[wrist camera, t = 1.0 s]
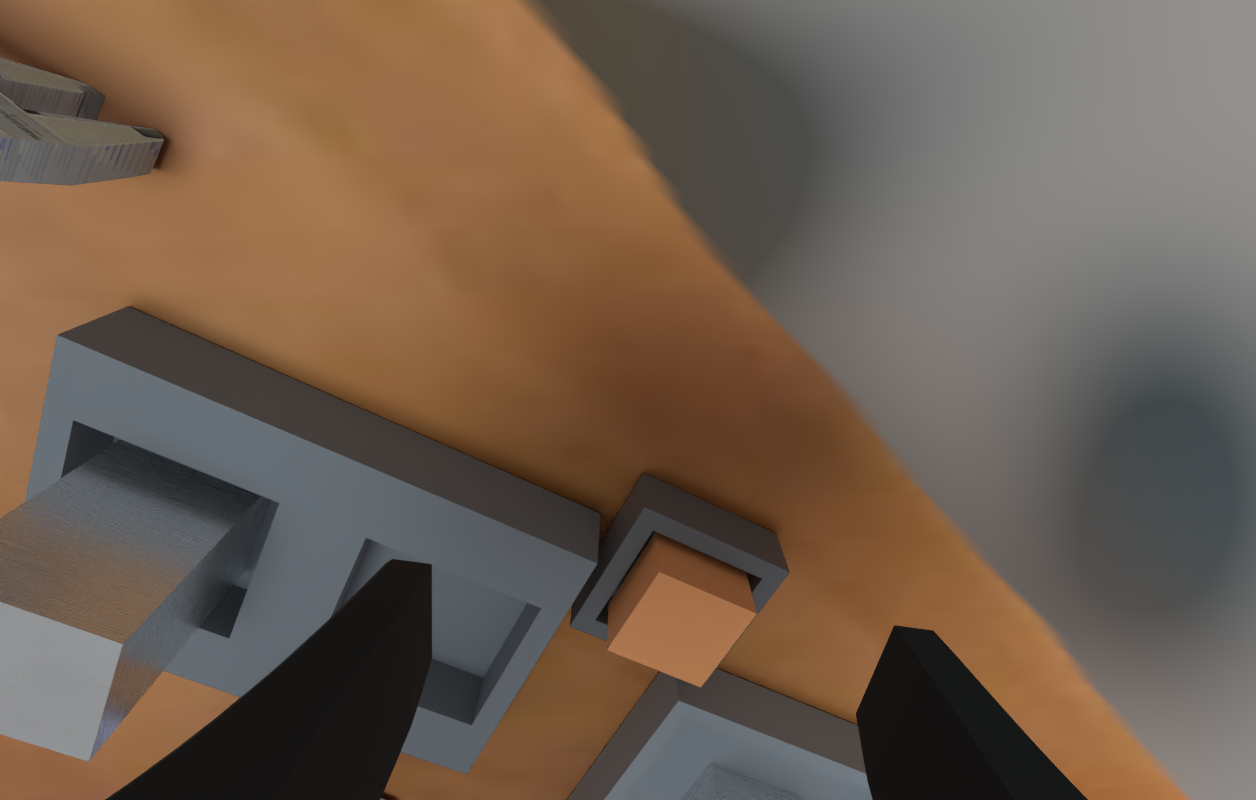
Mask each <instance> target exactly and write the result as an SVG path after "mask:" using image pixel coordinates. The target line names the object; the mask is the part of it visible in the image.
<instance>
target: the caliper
mask: <svg viewBox="0 0 1256 800" xmlns="http://www.w3.org/2000/svg"><path fill="white" fill-rule="evenodd" d="M104 98H105V96H104V95H103V94H101V93H100V92H98V91H97V90H95V89H93V88H92V87H90V86H89V85H87V84H86V83H83V82H81V81H77V80H74V79H71V78H68V77H64V76H61V75H58V74H54V73H51V72H48V71H45V70H41V69H38V68H35V67H32V66H28V65H25V64H22V63H19V62H15V61H12V60H9V59H5V58H2V57H0V181H8V182H23V183H39V184H55V185H78V184H85V183H93V182H100V181H107V180H115V179H122V178H129V177H135V176H141V175H146V174H150V173H151V171H152V169H153V166H154V164H155V162H156V159H157V157H158V154H159V152H160V150H161V147H162V145H163V143H164V139H163V137H162V135H161V134H160V133H159V132H158V131H157V130H156V129H153V128H145V127H137V126H130V125H123V124H116V123H110V122H103V121H97V117H98V114H99V112H100V109H101V106H102V104H103V101H104Z"/></svg>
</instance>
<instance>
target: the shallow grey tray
mask: <svg viewBox="0 0 1256 800" xmlns="http://www.w3.org/2000/svg"><path fill="white" fill-rule="evenodd" d="M711 762H712V763H714V764H717V765H720V766H722V767H725V768H728V769H730V770H733V771H736V772H738V773H741V774H744V775H746V776H749V777H752V778H754V779H757V780H760V781H762V782H765V783H768V784H770V785H773V786H776V787H778V788H781V789H784V790H786V791H789V792H792V793H794V794H797V795H800V799H801V800H873V799H872V796H871V792H870V789H869V785H868V781H867V775H866V770H865V765H864V759H863V754H862V748H861V742H860V736H859V729H858V725H855V724H853V723H850V722H848V721H845V720H843V719H840V718H838V717H835V716H833V715H830V714H828V713H825V712H823V711H821V710H818V709H816V708H813V707H811V706H808V705H806V704H803V703H801V702H798V701H796V700H793V699H791V698H788V697H786V696H784V695H781V694H779V693H776V692H774V691H771V690H769V689H766V688H764V687H761V686H759V685H756V684H754V683H751V682H749V681H747V680H744V679H742V678H739V677H737V676H734V675H732V674H729V673H727V672H724V671H722V670H719V669H717V668H716V669H715V671H714V672H713V673H712V674H711V676H710V677H709V678H708V680H707V681H705V683H704V684H703V685H702V687H698V686H696V685H693V684H691V683H688V682H686V681H683V680H681V679H678V678H676V677H673V676H671V675H668V674H666V673H663V672H661V671H660V672H659V673H658V675H657V676H656V677H655V679H654V680H653V681H652V683H651V684H650V686H649V687H648V688H647V690H646V691H645V693H644V694H643V695H642V697H641V698H640V700H639V701H638V702H637V704H636V705H635V706H634V708H633V709H632V711H631V712H630V713H629V715H628V716H627V718H626V719H625V720H624V722H623V723H622V724H621V726H620V727H619V729H618V730H617V731H616V733H615V734H614V736H613V737H612V738H611V740H610V741H609V742H608V744H607V745H606V747H605V748H604V749H603V751H602V752H601V754H600V755H599V756H598V758H597V759H596V761H595V762H594V763H593V765H592V766H591V767H590V769H589V770H588V772H587V773H586V774H585V776H584V777H583V779H582V780H581V781H580V783H579V784H578V785H577V787H576V788H575V790H574V791H573V792H572V794H571V795H570V797H569V798H568V799H567V800H681V798H682V797H683V796H684V795H685V794H686V792H687V791H688V790H689V789H690V787H691V786H692V785H693V784H694V783H695V781H696V780H697V779H698V778H699V776H700V775H701V774H702V773H703V772H704V770H705V769H706V768H707V767H708V766H709V764H710V763H711Z"/></svg>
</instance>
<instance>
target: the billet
mask: <svg viewBox="0 0 1256 800" xmlns="http://www.w3.org/2000/svg"><path fill="white" fill-rule="evenodd" d="M270 501H271V499H268V498H266V497H263V496H261V495H258V494H256V493H253V492H251V491H248V490H246V489H243V488H241V487H238V486H236V485H233V484H231V483H228V482H226V481H223V480H221V479H218V478H216V477H213V476H211V475H208V474H206V473H203V472H201V471H198V470H196V469H193V468H191V467H189V466H186V465H184V464H181V463H179V462H176V461H174V460H171V459H169V458H166V457H164V456H161V455H159V454H156V453H154V452H151V451H149V450H146V449H144V448H141V447H139V446H136V445H134V444H131V443H129V442H126V441H124V440H121V439H120V440H118V441H117V442H115V443H114V444H112V445H111V446H109V447H108V448H106V449H105V450H103V451H102V452H100V453H99V454H97V455H96V456H94V457H93V458H91V459H90V460H88V461H87V462H85V463H83V464H82V465H80V466H79V467H77V468H76V469H74V470H73V471H71V472H70V473H68V474H67V475H65V476H64V477H62V478H61V479H59V480H58V481H56V482H55V483H53V484H52V485H50V486H49V487H47V488H46V489H44V490H43V491H41V492H40V493H38V494H37V495H35V496H33V497H32V498H30V499H29V500H27V501H26V502H24V503H23V504H21V505H20V506H18V507H17V508H15V509H14V510H12V511H11V512H9V513H8V514H6V515H5V516H3V517H2V518H0V734H2V735H5V736H8V737H11V738H15V739H18V740H21V741H24V742H27V743H31V744H34V745H37V746H40V747H43V748H47V749H50V750H53V751H56V752H60V753H63V754H66V755H69V756H72V757H76V758H79V759H82V760H85V761H88V762H89V761H90V760H91V758H92V757H93V756H94V755H95V753H96V752H97V751H98V750H99V749H100V747H101V746H102V745H103V744H104V742H105V741H106V740H107V739H108V738H109V736H110V735H111V734H112V733H113V731H114V730H115V729H116V728H117V727H118V725H119V724H120V723H121V722H122V720H123V719H124V718H125V717H126V716H127V714H128V713H129V712H130V711H131V709H132V708H133V707H134V706H135V705H136V703H137V702H138V701H139V700H140V698H141V697H142V696H143V695H144V694H145V692H146V691H147V690H148V689H149V687H150V686H151V685H152V684H153V683H154V681H155V680H156V679H157V678H158V676H159V675H160V674H161V673H162V672H163V670H164V669H165V668H166V667H167V665H168V664H169V663H170V662H171V661H172V659H173V658H174V657H175V656H176V654H177V653H178V652H179V651H180V650H181V648H182V647H183V646H184V645H185V643H186V642H187V641H188V640H189V639H190V637H191V636H192V635H193V634H194V632H195V631H196V630H197V629H198V628H199V626H200V625H201V624H202V623H203V621H204V620H205V619H206V618H207V617H208V615H209V614H210V613H211V612H212V611H213V609H214V608H215V607H216V606H217V604H218V603H219V602H220V601H221V600H222V598H223V597H224V596H225V595H226V593H227V592H228V591H229V590H230V589H231V587H232V586H233V585H234V584H235V582H236V581H237V580H238V579H239V578H240V576H241V575H242V574H243V573H244V571H245V570H246V567H247V564H248V562H249V559H250V556H251V553H252V551H253V548H254V545H255V542H256V540H257V537H258V534H259V531H260V529H261V526H262V523H263V520H264V518H265V515H266V512H267V509H268V507H269V504H270Z"/></svg>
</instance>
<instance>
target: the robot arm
mask: <svg viewBox="0 0 1256 800" xmlns="http://www.w3.org/2000/svg"><path fill="white" fill-rule="evenodd" d="M431 661H432V564H428V563H420V562H413V561H405V560H398V559H391V560H390V561H388V562H387V563H385V564H384V565H383V566H382V567H381V568H380V569H379V570H378V571H377V572H376V573H375V574H374V575H373V576H372V577H371V578H370V579H369V580H368V581H367V582H366V583H365V584H364V585H363V586H362V587H361V588H360V589H359V590H358V591H357V592H356V593H355V594H354V595H353V596H352V597H351V598H350V599H349V600H348V601H347V602H346V603H345V604H344V605H343V606H342V607H341V608H340V609H339V610H338V611H337V612H336V613H335V614H334V615H333V616H332V617H331V618H330V619H329V620H328V621H327V622H326V623H324V624H323V625H322V626H321V627H320V628H319V629H318V630H317V631H316V632H315V633H314V634H313V635H311V636H310V637H309V638H308V639H307V640H306V641H305V642H304V643H303V644H302V645H300V646H299V647H298V648H297V649H296V650H295V651H294V652H293V653H292V654H291V655H290V656H288V657H287V658H286V659H285V660H284V661H283V662H282V663H281V664H280V665H278V666H277V667H276V668H275V669H274V670H273V671H272V672H270V673H269V674H268V675H267V676H266V677H264V678H263V679H262V680H261V681H260V682H258V683H257V684H256V685H255V686H254V687H252V688H251V689H250V690H249V691H248V692H247V693H245V694H244V695H243V696H242V697H241V698H239V699H238V700H237V701H236V702H235V703H233V704H232V705H231V706H230V707H229V708H227V709H226V710H225V711H224V712H223V713H221V714H220V715H219V716H218V717H216V718H215V719H214V720H213V721H211V722H210V723H209V724H208V725H206V726H205V727H204V728H203V729H201V730H200V731H199V732H197V733H196V734H195V735H194V736H192V737H191V738H190V739H188V740H187V741H186V742H184V743H183V744H182V745H181V746H179V747H178V748H177V749H175V750H174V751H173V752H171V753H170V754H169V755H167V756H166V757H164V758H163V759H162V760H160V761H159V762H158V763H156V764H155V765H154V766H152V767H151V768H149V769H148V770H147V771H145V772H144V773H143V774H141V775H140V776H139V777H137V778H136V779H134V780H133V781H132V782H130V783H129V784H127V785H126V786H124V787H123V788H121V789H120V790H119V791H117V792H116V793H114V794H113V795H111V796H110V797H108V798H107V799H105V800H386V799H383V798H381V796H382V794H383V792H384V789H385V787H386V785H387V782H388V780H389V778H390V775H391V773H392V771H393V768H394V766H395V763H396V761H397V759H398V756H399V754H400V752H401V749H402V747H403V745H404V742H405V740H406V737H407V735H408V733H409V730H410V728H411V725H412V723H413V719H414V716H415V713H416V710H417V707H418V704H419V700H420V697H421V694H422V691H423V687H424V684H425V681H426V677H427V674H428V671H429V667H430V664H431ZM856 717H857V723H858V729H859V736H860V742H861V748H862V754H863V759H864V765H865V770H866V775H867V781H868V785H869V789H870V792H871V796H872V799H873V800H1088V799H1087V798H1086V797H1085V796H1084V795H1083V794H1082V793H1081V792H1080V791H1079V790H1078V789H1077V788H1076V787H1075V786H1074V785H1073V784H1072V783H1071V782H1070V781H1069V780H1068V779H1067V778H1066V777H1065V776H1064V774H1063V773H1062V772H1061V771H1060V770H1059V769H1058V768H1057V767H1056V766H1055V765H1054V764H1053V763H1052V762H1051V761H1050V760H1049V759H1048V757H1047V756H1046V755H1045V754H1044V753H1043V752H1042V751H1041V750H1040V749H1039V748H1038V747H1037V746H1036V744H1035V743H1034V742H1033V741H1032V740H1031V739H1030V738H1029V737H1028V736H1027V735H1026V734H1025V732H1024V731H1023V730H1022V729H1021V728H1020V727H1019V726H1018V725H1017V724H1016V722H1015V721H1014V720H1013V719H1012V718H1011V717H1010V716H1009V715H1008V714H1007V712H1006V711H1005V710H1004V709H1003V708H1002V707H1001V706H1000V705H999V703H998V702H997V701H996V700H995V699H994V698H993V697H992V696H991V694H990V693H989V692H988V691H987V690H986V689H985V688H984V687H983V685H982V684H981V683H980V682H979V681H978V680H977V679H976V678H975V676H974V675H973V674H972V673H971V672H970V671H969V670H968V668H967V667H966V666H965V665H964V664H963V663H962V662H961V661H960V659H959V658H958V657H957V656H956V655H955V654H954V653H953V652H952V651H951V649H950V648H949V647H948V646H947V645H946V644H945V643H944V642H943V641H942V640H941V639H940V638H939V637H938V635H937V634H936V633H935V632H934V631H932V630H924V629H917V628H909V627H902V626H894V627H893V630H892V632H891V634H890V636H889V639H888V641H887V643H886V646H885V648H884V650H883V653H882V655H881V657H880V659H879V662H878V664H877V666H876V669H875V671H874V673H873V676H872V678H871V680H870V683H869V685H868V687H867V689H866V692H865V694H864V696H863V699H862V701H861V703H860V706H859V708H858V710H857V712H856Z"/></svg>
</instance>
